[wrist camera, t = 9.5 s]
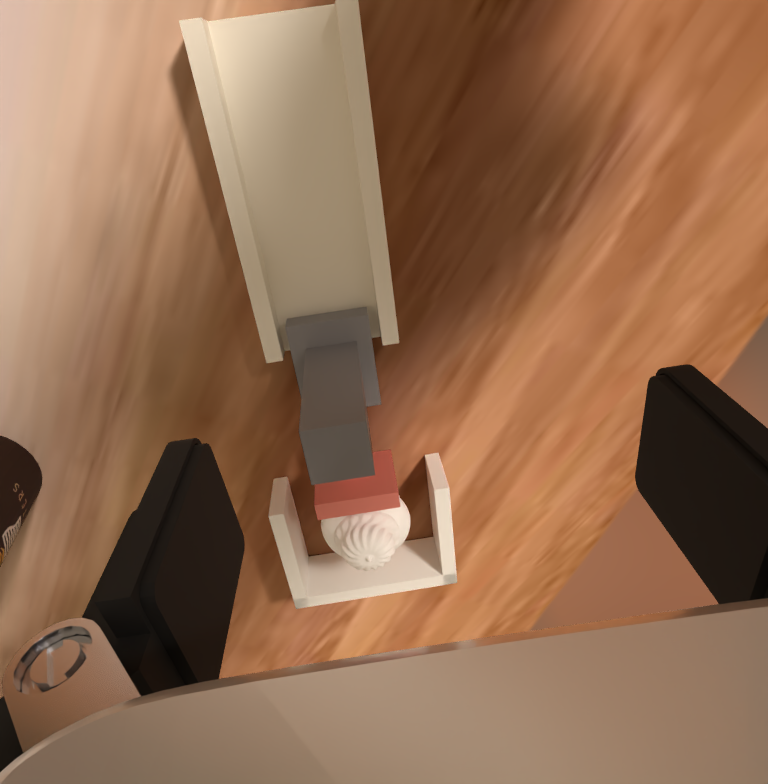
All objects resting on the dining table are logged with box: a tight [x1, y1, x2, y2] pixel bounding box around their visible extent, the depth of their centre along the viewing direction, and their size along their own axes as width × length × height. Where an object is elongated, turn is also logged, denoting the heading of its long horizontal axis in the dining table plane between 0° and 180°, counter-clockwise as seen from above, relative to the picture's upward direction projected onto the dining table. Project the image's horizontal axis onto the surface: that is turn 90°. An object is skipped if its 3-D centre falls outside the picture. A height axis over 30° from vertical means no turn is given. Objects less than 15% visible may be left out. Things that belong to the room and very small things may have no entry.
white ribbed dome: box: [321, 496, 410, 571], centre depth 37 cm, size 6×6×7 cm
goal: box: [268, 453, 457, 609], centre depth 39 cm, size 12×9×4 cm
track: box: [179, 0, 399, 363], centre depth 29 cm, size 8×17×2 cm, turn 7°
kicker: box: [285, 307, 400, 520], centre depth 30 cm, size 5×12×10 cm, turn 7°
